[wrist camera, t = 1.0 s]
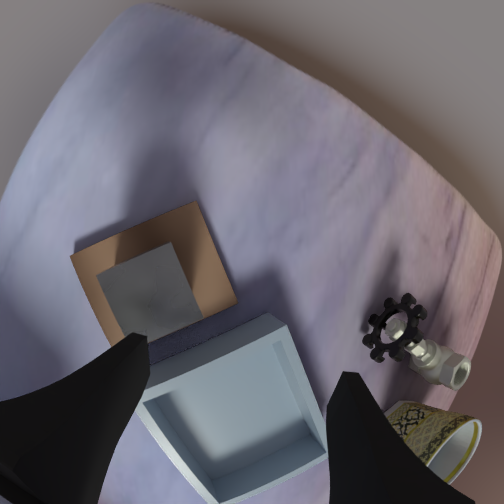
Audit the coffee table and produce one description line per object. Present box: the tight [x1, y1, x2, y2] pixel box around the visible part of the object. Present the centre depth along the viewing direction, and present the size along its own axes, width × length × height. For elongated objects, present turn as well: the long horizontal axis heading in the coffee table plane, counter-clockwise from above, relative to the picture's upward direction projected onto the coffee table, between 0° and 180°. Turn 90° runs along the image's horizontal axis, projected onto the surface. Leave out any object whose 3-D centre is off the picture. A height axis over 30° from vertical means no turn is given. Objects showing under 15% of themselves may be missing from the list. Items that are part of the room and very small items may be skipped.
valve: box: [362, 293, 471, 391], centre depth 26 cm, size 7×7×12 cm
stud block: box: [70, 201, 238, 347], centre depth 20 cm, size 10×8×4 cm
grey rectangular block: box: [96, 241, 204, 343], centre depth 18 cm, size 4×4×6 cm
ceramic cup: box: [384, 401, 482, 485], centre depth 25 cm, size 13×10×10 cm
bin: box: [135, 312, 328, 504], centre depth 22 cm, size 12×14×4 cm
